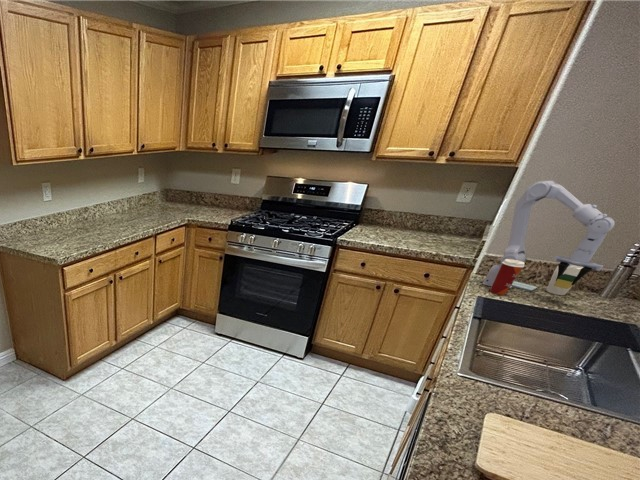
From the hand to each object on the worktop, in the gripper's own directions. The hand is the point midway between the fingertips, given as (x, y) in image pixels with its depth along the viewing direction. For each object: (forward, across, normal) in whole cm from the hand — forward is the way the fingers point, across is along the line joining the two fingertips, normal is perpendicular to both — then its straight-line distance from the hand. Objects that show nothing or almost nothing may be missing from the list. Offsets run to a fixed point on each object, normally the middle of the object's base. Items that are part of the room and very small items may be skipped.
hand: (564, 282), depth 172 cm
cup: (+8, -3, +15) cm, 18 cm away
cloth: (+8, -15, +10) cm, 20 cm away
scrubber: (+1, 0, 0) cm, 1 cm away
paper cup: (+9, -17, -10) cm, 21 cm away
